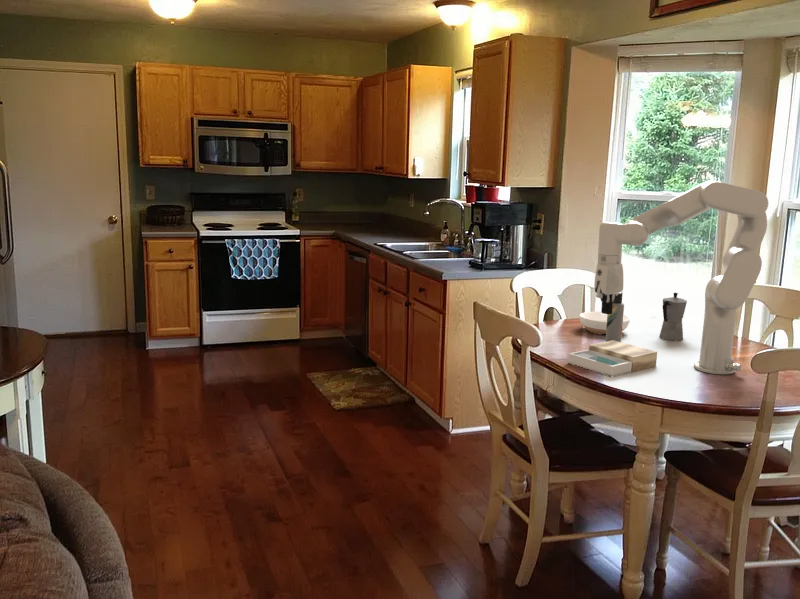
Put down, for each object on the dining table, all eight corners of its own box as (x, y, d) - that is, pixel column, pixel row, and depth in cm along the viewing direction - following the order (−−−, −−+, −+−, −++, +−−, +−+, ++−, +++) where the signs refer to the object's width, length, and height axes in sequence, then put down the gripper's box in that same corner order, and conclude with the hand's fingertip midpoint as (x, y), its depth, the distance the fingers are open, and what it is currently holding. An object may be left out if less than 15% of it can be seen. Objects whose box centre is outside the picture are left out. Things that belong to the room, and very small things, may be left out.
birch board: (655, 366, 247) (657, 351, 246) (632, 371, 240) (633, 357, 239) (612, 353, 261) (613, 340, 260) (588, 359, 254) (589, 345, 253)
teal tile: (609, 359, 236) (607, 366, 236) (618, 363, 239) (615, 370, 239) (597, 355, 240) (594, 363, 239) (605, 359, 243) (603, 366, 243)
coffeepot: (667, 333, 296) (672, 289, 292) (690, 337, 289) (695, 292, 285) (648, 338, 285) (653, 293, 282) (672, 343, 278) (676, 297, 275)
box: (631, 372, 239) (632, 361, 239) (611, 377, 234) (612, 366, 233) (587, 359, 254) (588, 349, 253) (567, 363, 248) (568, 353, 247)
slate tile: (585, 358, 243) (585, 365, 243) (595, 356, 246) (594, 363, 246) (573, 355, 247) (573, 362, 247) (583, 352, 250) (582, 360, 250)
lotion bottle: (619, 341, 280) (623, 289, 276) (622, 345, 274) (626, 292, 270) (604, 340, 280) (608, 289, 276) (606, 344, 275) (611, 291, 271)
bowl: (600, 339, 283) (601, 323, 281) (568, 328, 300) (569, 313, 299) (639, 335, 291) (640, 320, 290) (605, 324, 308) (607, 310, 307)
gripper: (604, 262, 237) (601, 318, 240) (632, 258, 246) (629, 312, 249) (585, 260, 243) (583, 314, 246) (614, 256, 251) (611, 309, 255)
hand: (606, 313), depth 248 cm, fingers closed
